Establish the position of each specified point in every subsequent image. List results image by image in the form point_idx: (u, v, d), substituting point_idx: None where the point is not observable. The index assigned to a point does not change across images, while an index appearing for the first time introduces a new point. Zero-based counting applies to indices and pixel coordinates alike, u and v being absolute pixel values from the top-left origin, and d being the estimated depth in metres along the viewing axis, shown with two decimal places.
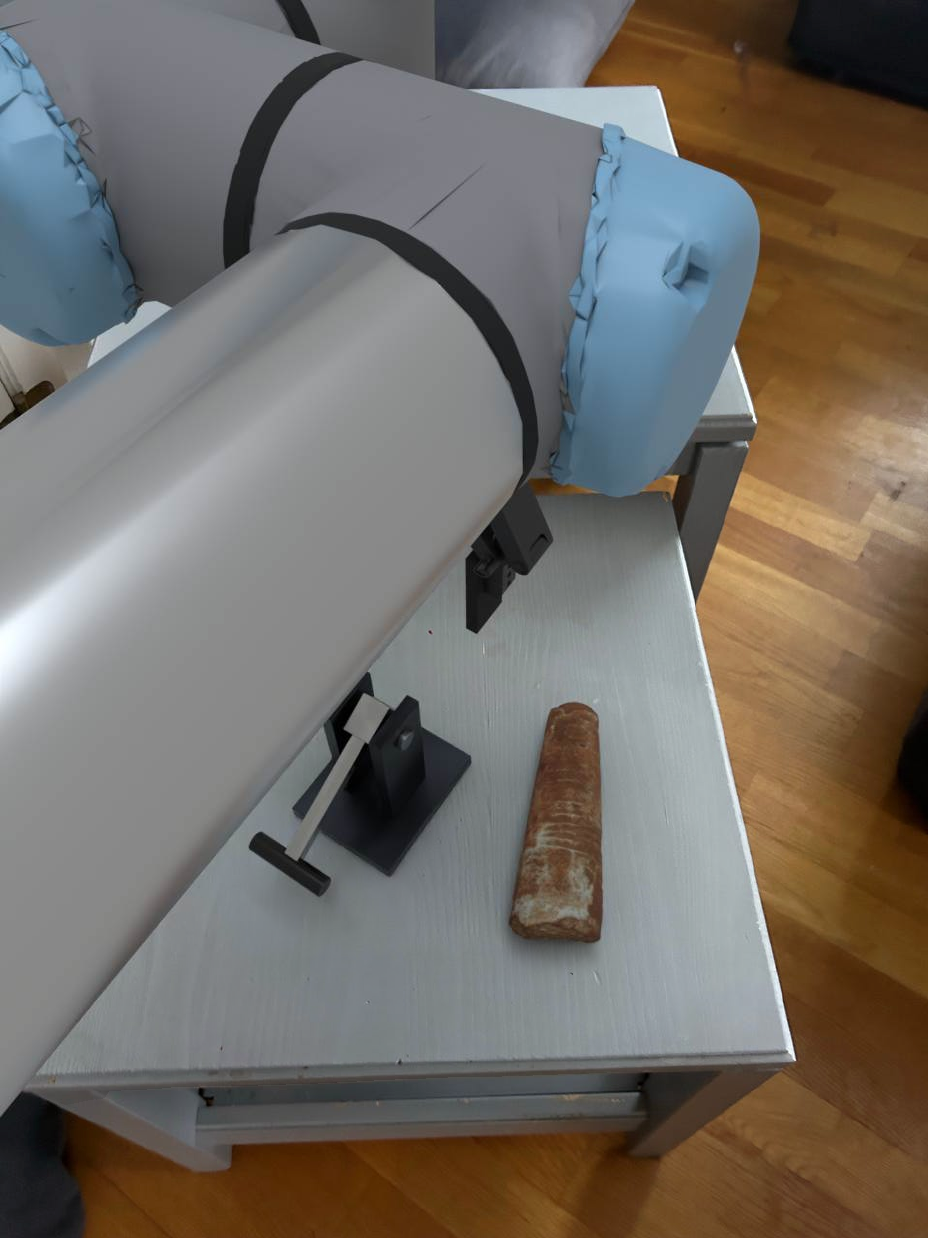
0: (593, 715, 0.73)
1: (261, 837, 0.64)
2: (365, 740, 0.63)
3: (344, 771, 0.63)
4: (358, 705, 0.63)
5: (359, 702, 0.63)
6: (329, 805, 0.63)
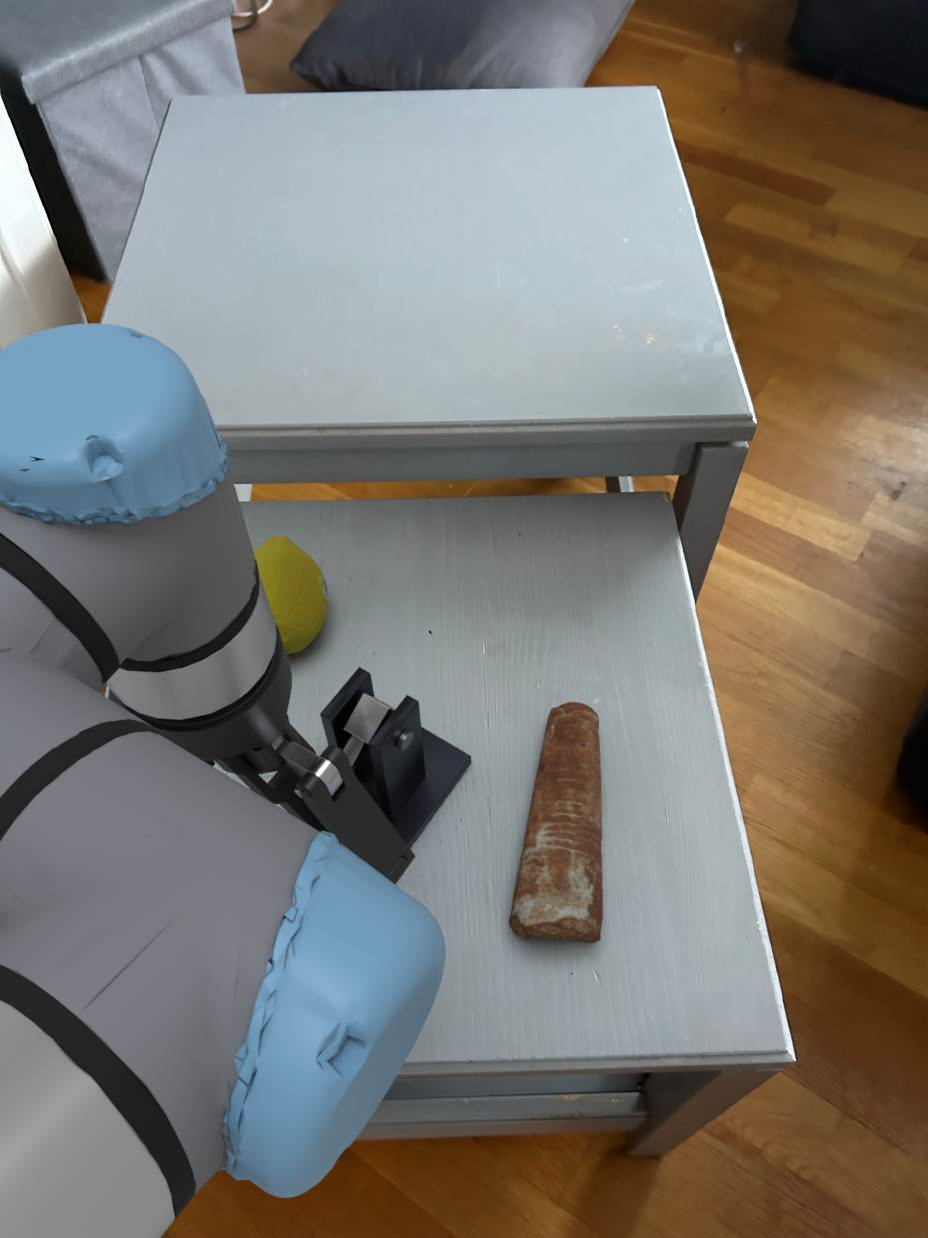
0: (593, 715, 0.73)
1: None
2: (365, 740, 0.63)
3: None
4: (358, 705, 0.63)
5: (359, 702, 0.63)
6: None
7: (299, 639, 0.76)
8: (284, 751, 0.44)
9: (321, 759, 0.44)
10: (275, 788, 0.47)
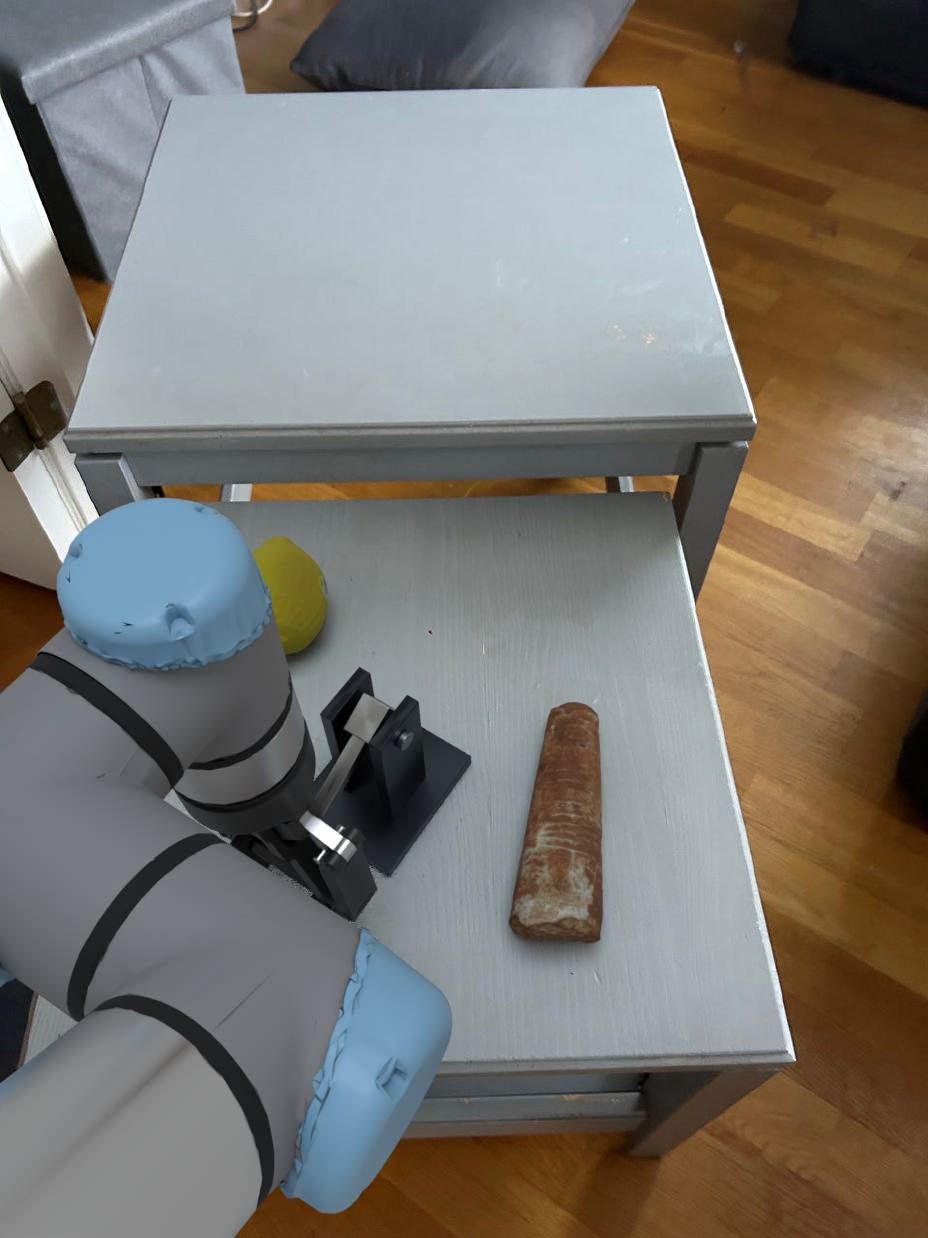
0: (593, 715, 0.73)
1: None
2: (365, 740, 0.63)
3: (344, 771, 0.63)
4: (358, 705, 0.63)
5: (359, 702, 0.63)
6: (329, 805, 0.63)
7: (299, 639, 0.76)
8: (312, 828, 0.52)
9: (345, 840, 0.52)
10: (290, 849, 0.55)
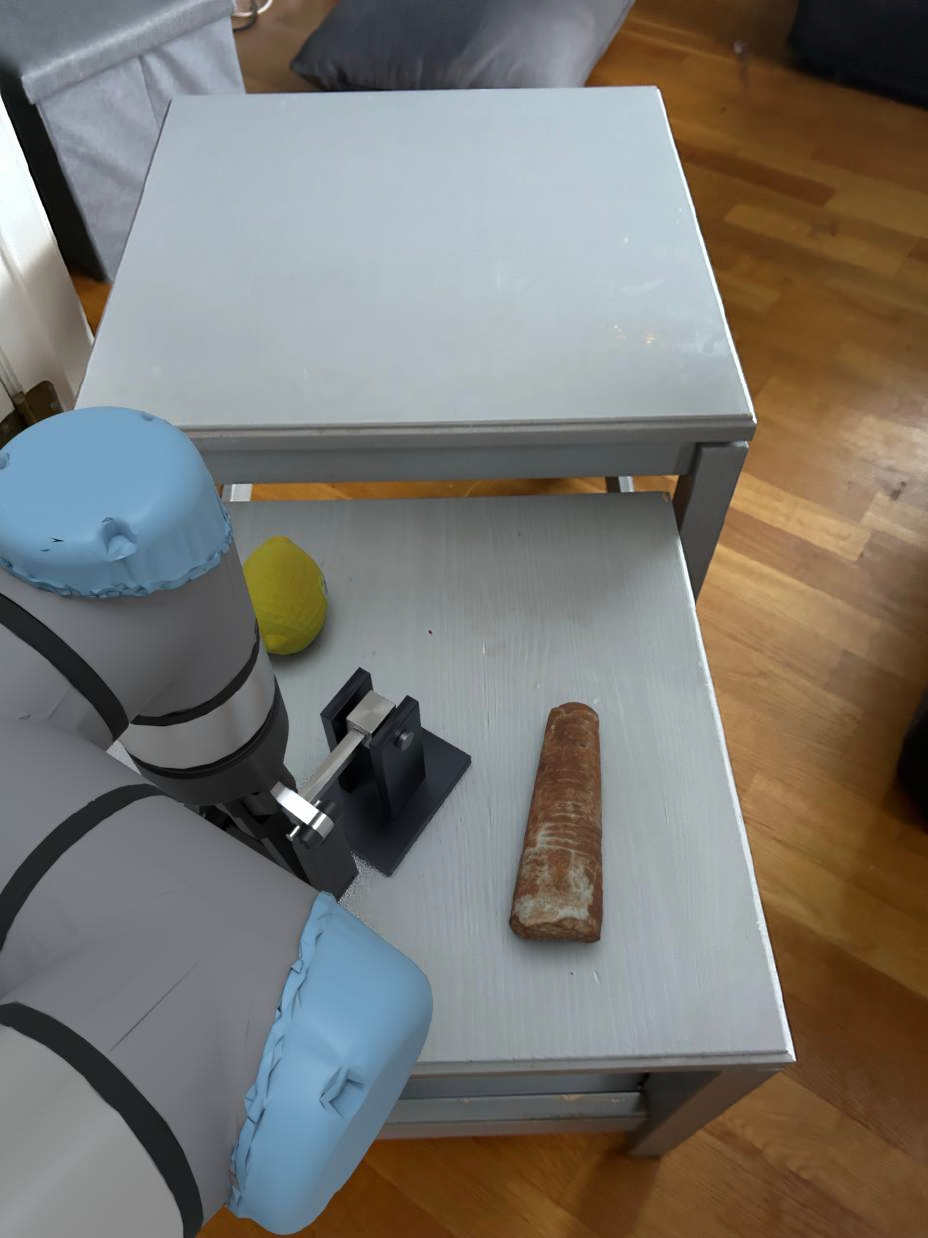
0: (593, 715, 0.73)
1: None
2: (368, 730, 0.62)
3: (340, 760, 0.62)
4: (364, 699, 0.64)
5: (365, 697, 0.64)
6: (320, 791, 0.61)
7: (299, 639, 0.76)
8: (284, 800, 0.47)
9: (321, 814, 0.47)
10: (261, 826, 0.50)
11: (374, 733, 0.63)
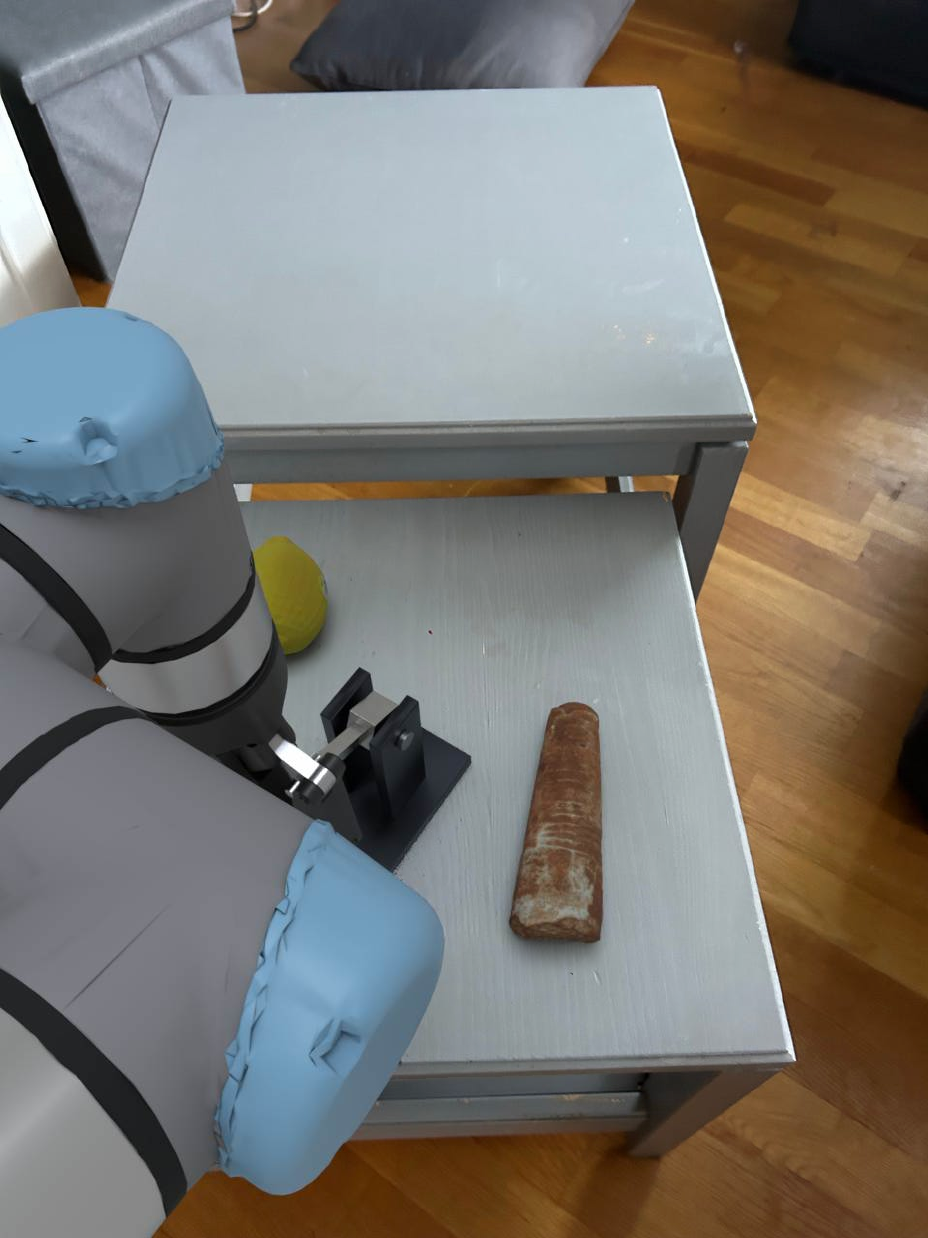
0: (593, 715, 0.73)
1: None
2: (372, 722, 0.62)
3: (341, 747, 0.61)
4: (367, 697, 0.64)
5: (368, 695, 0.64)
6: None
7: (299, 639, 0.76)
8: (283, 754, 0.44)
9: (323, 769, 0.44)
10: (259, 783, 0.47)
11: (377, 727, 0.63)
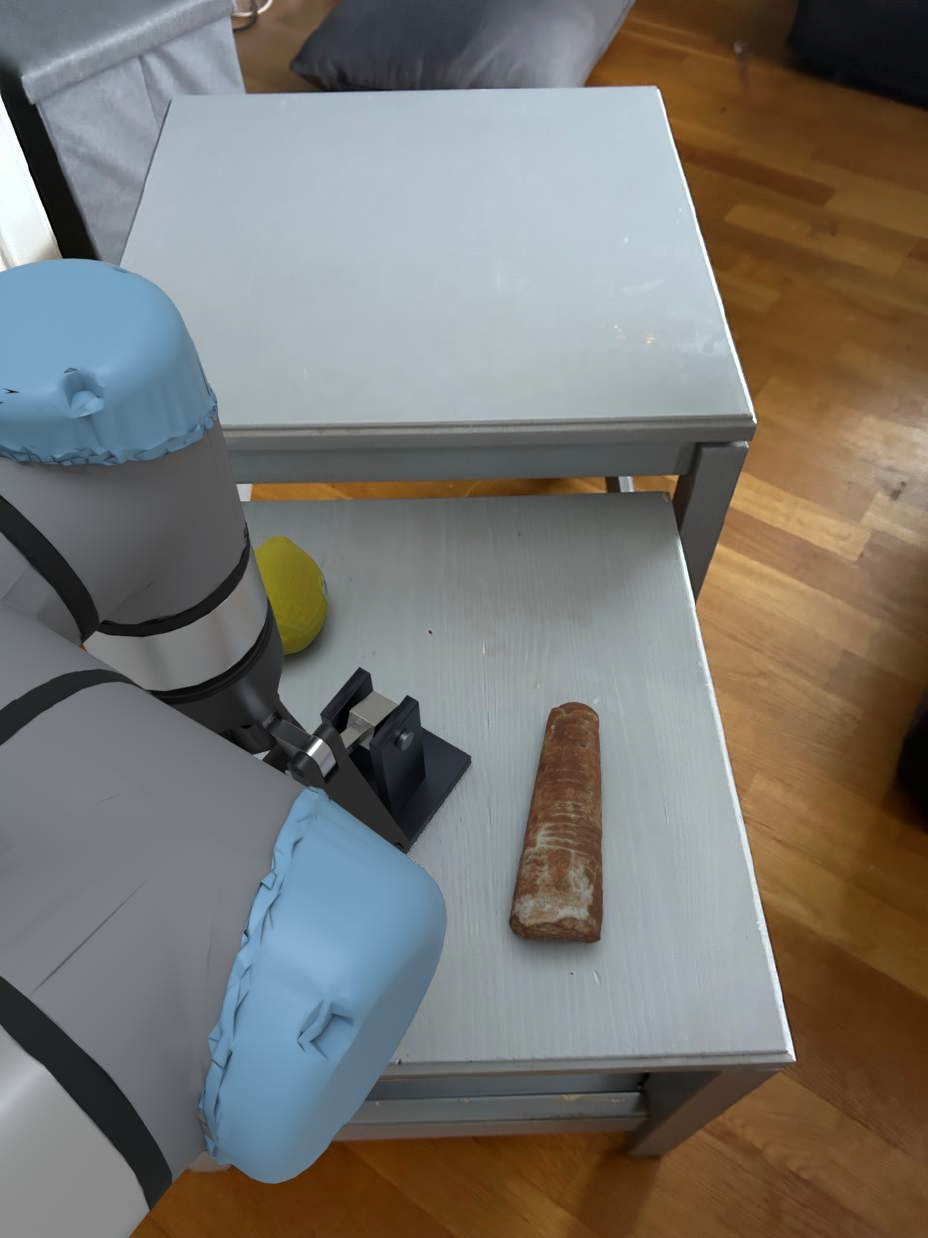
0: (593, 715, 0.73)
1: None
2: (372, 722, 0.62)
3: None
4: (367, 697, 0.64)
5: (368, 695, 0.64)
6: None
7: (299, 639, 0.76)
8: (275, 730, 0.43)
9: (313, 738, 0.42)
10: None
11: (377, 727, 0.63)
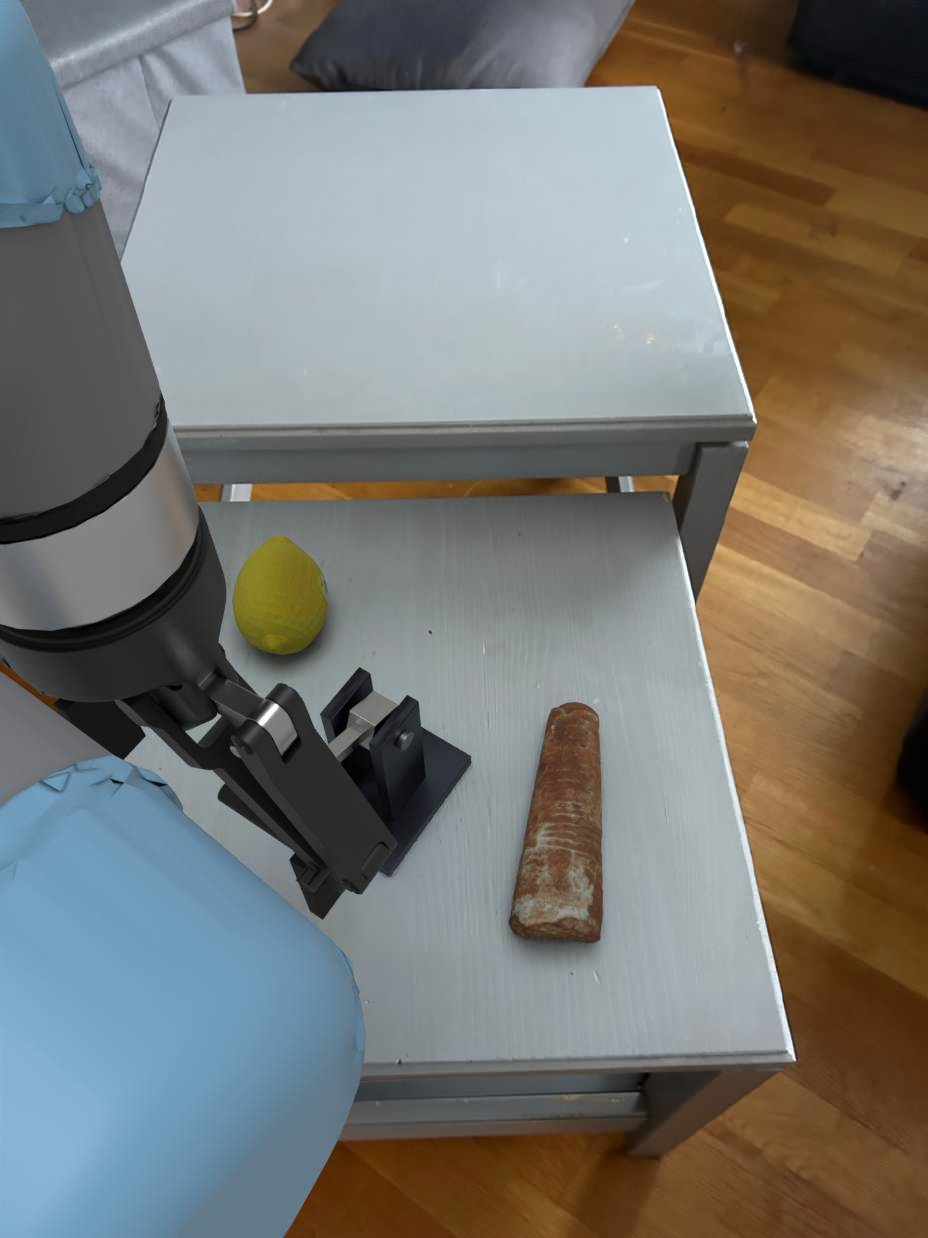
0: (593, 715, 0.73)
1: None
2: (372, 722, 0.62)
3: (341, 747, 0.61)
4: (367, 697, 0.64)
5: (368, 695, 0.64)
6: None
7: (299, 639, 0.76)
8: (215, 692, 0.32)
9: (266, 702, 0.31)
10: (206, 748, 0.34)
11: (377, 727, 0.63)
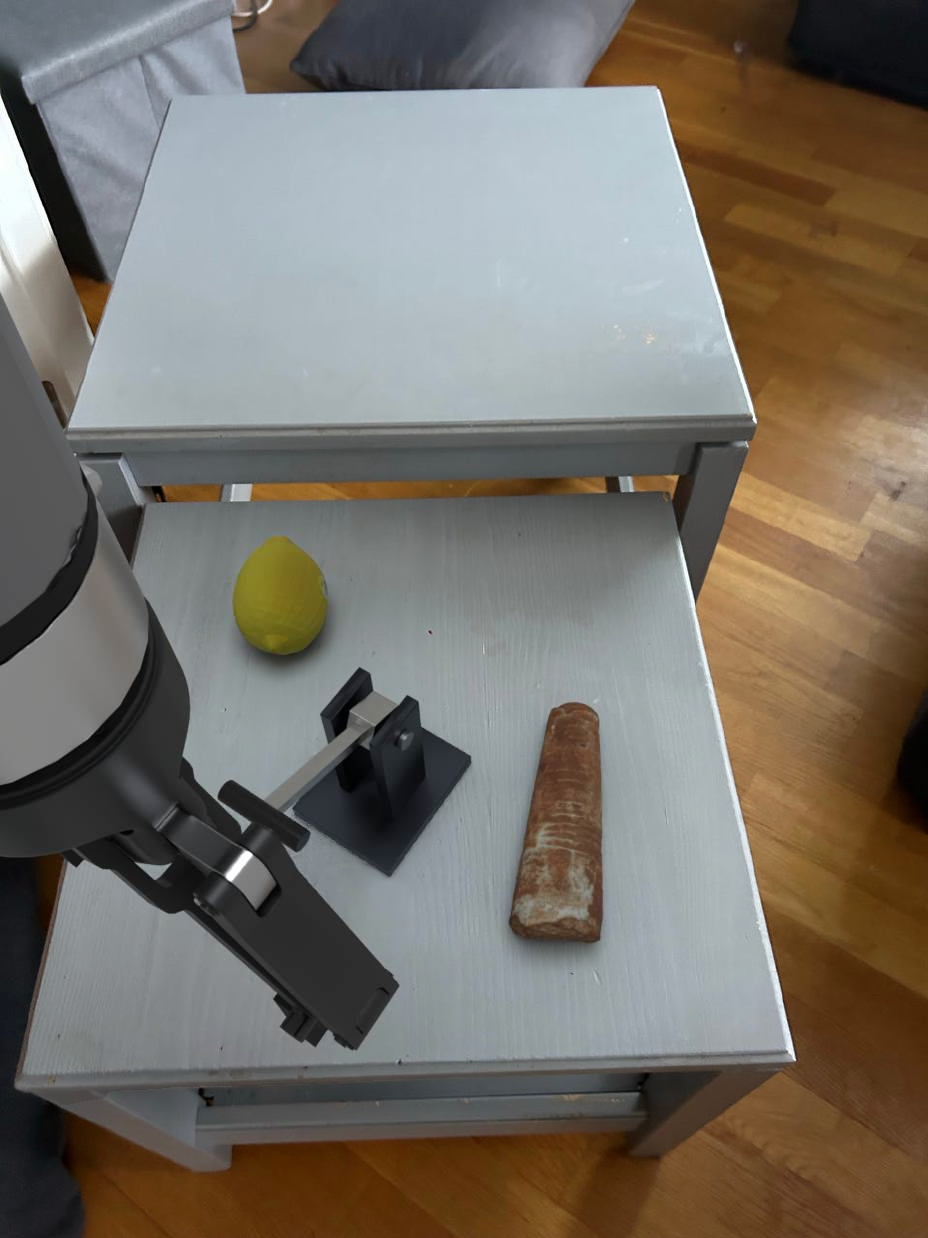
0: (593, 715, 0.73)
1: (237, 783, 0.57)
2: (372, 722, 0.62)
3: (341, 747, 0.61)
4: (367, 697, 0.64)
5: (368, 695, 0.64)
6: (321, 772, 0.59)
7: (299, 639, 0.76)
8: (176, 833, 0.26)
9: (237, 849, 0.26)
10: (170, 888, 0.29)
11: (377, 727, 0.63)
